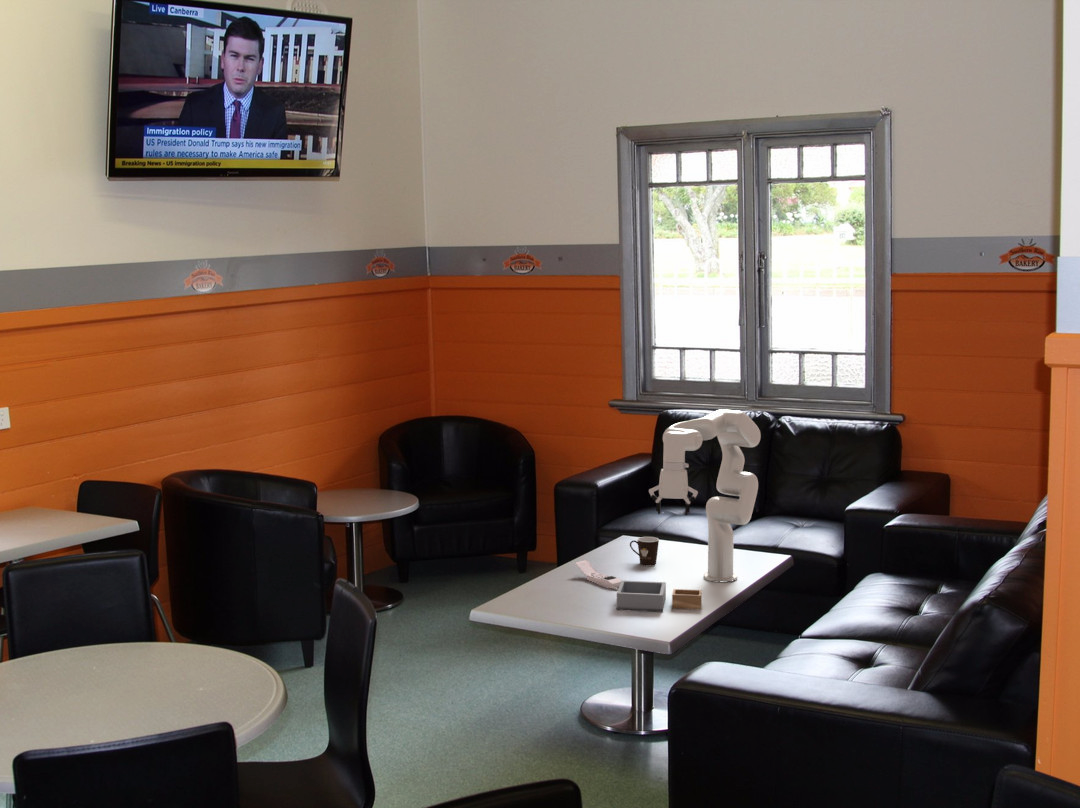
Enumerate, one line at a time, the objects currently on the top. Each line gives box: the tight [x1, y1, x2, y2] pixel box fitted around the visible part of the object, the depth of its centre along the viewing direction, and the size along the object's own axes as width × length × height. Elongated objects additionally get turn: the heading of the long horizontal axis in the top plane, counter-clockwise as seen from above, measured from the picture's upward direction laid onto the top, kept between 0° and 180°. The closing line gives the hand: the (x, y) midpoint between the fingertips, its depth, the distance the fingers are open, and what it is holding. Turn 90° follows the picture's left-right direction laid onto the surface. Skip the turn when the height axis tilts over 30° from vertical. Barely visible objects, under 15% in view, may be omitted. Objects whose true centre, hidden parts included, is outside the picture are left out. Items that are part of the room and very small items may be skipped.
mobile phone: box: [575, 559, 623, 591], centre depth 434 cm, size 6×6×25 cm
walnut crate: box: [671, 588, 703, 610], centre depth 403 cm, size 7×10×5 cm
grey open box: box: [616, 580, 667, 613], centre depth 406 cm, size 16×16×6 cm
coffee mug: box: [629, 536, 660, 567], centre depth 460 cm, size 12×9×10 cm
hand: (672, 514), depth 406 cm, fingers open, 9 cm apart
